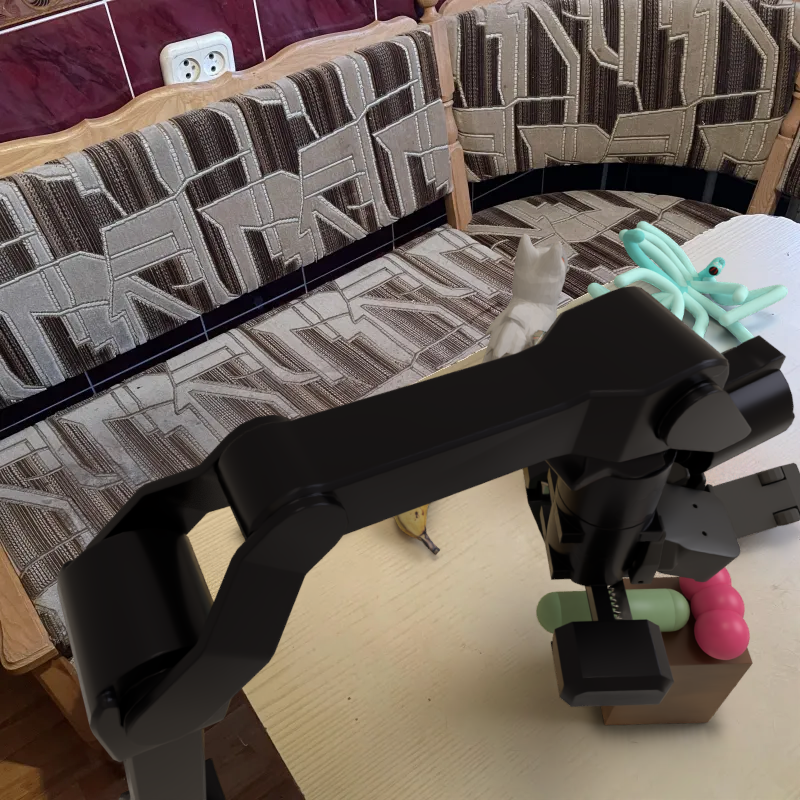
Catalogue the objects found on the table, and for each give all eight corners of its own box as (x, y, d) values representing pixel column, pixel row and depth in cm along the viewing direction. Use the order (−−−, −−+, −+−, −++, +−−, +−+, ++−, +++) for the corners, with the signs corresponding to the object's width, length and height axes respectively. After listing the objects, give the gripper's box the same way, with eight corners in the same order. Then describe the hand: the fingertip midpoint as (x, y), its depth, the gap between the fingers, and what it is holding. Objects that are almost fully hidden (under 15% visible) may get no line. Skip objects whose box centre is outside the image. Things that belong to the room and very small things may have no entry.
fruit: (433, 562, 72) (433, 545, 70) (368, 507, 77) (367, 489, 75) (533, 470, 80) (536, 452, 77) (469, 425, 84) (470, 406, 82)
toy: (578, 321, 95) (588, 217, 84) (516, 423, 84) (518, 319, 73) (530, 308, 97) (534, 206, 87) (464, 405, 87) (459, 303, 76)
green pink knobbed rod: (541, 673, 53) (547, 651, 51) (527, 577, 58) (532, 552, 56) (751, 667, 53) (769, 645, 51) (719, 571, 58) (733, 546, 56)
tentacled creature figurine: (629, 201, 84) (692, 174, 96) (554, 279, 94) (620, 246, 106) (786, 373, 80) (831, 322, 92) (690, 436, 90) (742, 383, 102)
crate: (604, 725, 62) (632, 666, 53) (588, 643, 67) (612, 578, 58) (708, 722, 62) (753, 663, 53) (685, 641, 67) (722, 575, 58)
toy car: (695, 556, 69) (675, 556, 74) (825, 516, 70) (798, 519, 75) (672, 495, 70) (655, 499, 75) (801, 456, 71) (775, 463, 76)
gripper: (810, 637, 37) (719, 745, 49) (700, 368, 50) (648, 505, 61) (583, 643, 37) (546, 750, 49) (531, 374, 50) (511, 509, 61)
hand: (569, 614), depth 55 cm, fingers open, 9 cm apart
